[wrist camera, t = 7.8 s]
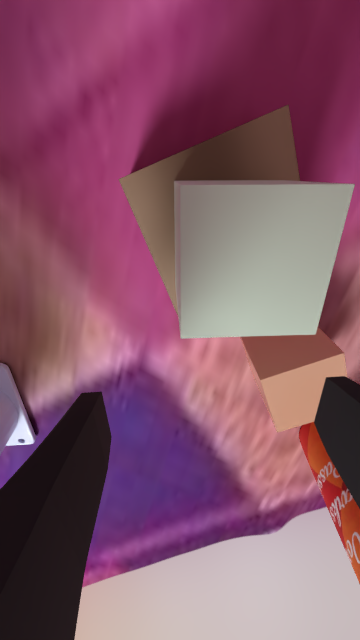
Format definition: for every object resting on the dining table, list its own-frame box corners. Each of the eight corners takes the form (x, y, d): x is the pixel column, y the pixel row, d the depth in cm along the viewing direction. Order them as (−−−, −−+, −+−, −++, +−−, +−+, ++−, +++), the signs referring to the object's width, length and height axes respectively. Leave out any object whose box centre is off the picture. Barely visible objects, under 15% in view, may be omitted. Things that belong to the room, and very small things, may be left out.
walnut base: (177, 291, 18) (179, 320, 14) (129, 177, 15) (118, 179, 11) (283, 251, 17) (313, 272, 14) (257, 121, 14) (288, 104, 10)
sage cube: (175, 284, 13) (180, 338, 9) (174, 180, 11) (180, 185, 7) (266, 282, 14) (315, 334, 9) (281, 180, 12) (355, 184, 7)
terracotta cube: (254, 379, 22) (277, 432, 17) (238, 332, 19) (260, 380, 15) (311, 360, 21) (351, 410, 17) (302, 310, 19) (344, 352, 14)
